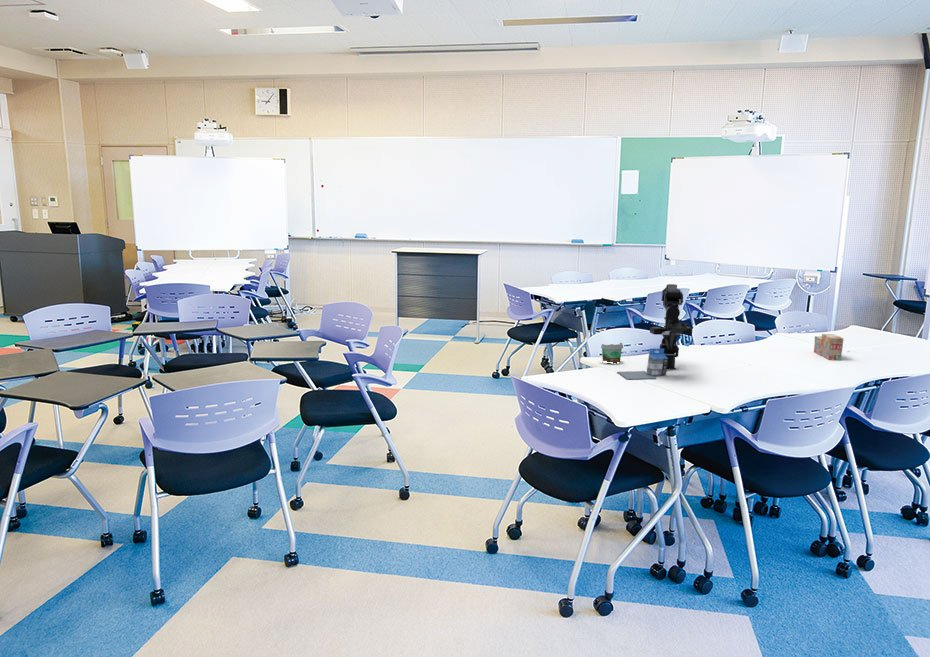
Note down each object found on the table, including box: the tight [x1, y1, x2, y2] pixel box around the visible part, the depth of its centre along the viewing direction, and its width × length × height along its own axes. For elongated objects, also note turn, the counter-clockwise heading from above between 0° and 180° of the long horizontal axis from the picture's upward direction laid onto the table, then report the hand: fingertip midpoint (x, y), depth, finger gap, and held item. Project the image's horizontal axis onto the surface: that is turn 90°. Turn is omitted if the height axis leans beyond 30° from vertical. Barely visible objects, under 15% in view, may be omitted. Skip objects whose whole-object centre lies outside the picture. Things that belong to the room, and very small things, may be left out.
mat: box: [616, 370, 657, 381], centre depth 305 cm, size 14×14×1 cm
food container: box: [600, 342, 624, 363], centre depth 331 cm, size 12×6×10 cm, turn 112°
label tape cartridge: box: [646, 348, 668, 377], centre depth 305 cm, size 9×4×12 cm, turn 112°
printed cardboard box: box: [813, 333, 844, 362], centre depth 350 cm, size 21×6×12 cm, turn 172°
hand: (670, 348), depth 305 cm, fingers closed
